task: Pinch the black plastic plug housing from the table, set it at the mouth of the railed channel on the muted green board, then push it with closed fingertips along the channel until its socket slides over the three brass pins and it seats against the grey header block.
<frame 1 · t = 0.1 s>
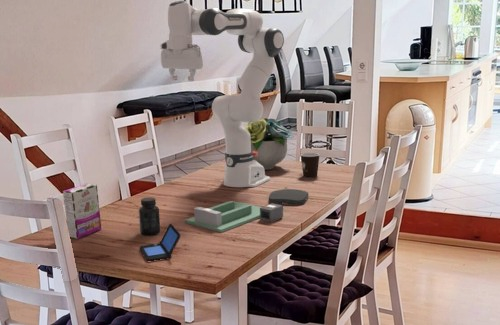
hand: (182, 80, 232), 48 cm above the table, tool pointing down, fingers open, 8 cm apart
candy bar box: (84, 234, 204), on the table
handheld game console: (160, 254, 185), on the table
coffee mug: (309, 175, 277), on the table
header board: (230, 217, 218), on the table
media streaming box: (288, 200, 238), on the table
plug: (271, 218, 215), on the table
flower arrangement: (265, 168, 293), on the table
supplement bottle: (150, 233, 203), on the table
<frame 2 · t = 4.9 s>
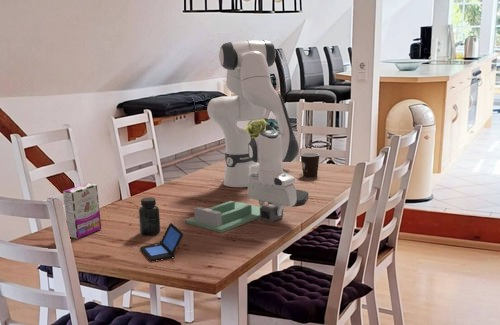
hand: (271, 213, 215), 2 cm above the table, tool pointing down, fingers closed on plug, 5 cm apart
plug: (271, 218, 215), on the table, touching gripper
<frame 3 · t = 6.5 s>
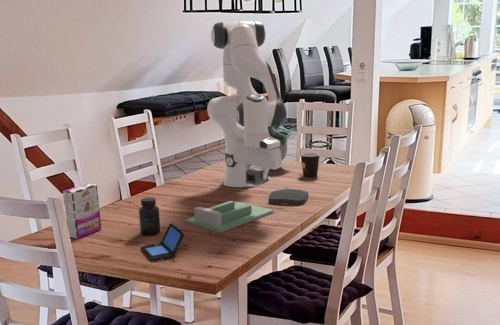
hand: (257, 177, 218), 14 cm above the table, tool pointing down, fingers closed on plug, 5 cm apart
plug: (257, 181, 218), point 12 cm above the table, touching gripper
everything else where it was.
when the fingers open (3 cm above the table, at t = 8.6 s): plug stays where it is, resting on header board.
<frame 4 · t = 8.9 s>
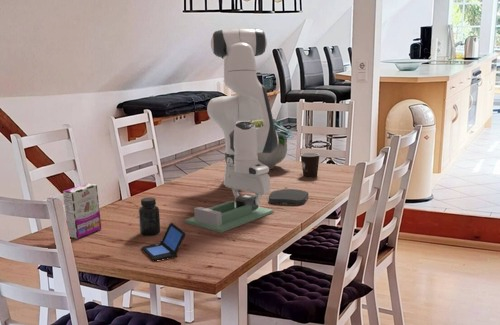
hand: (247, 202, 224), 3 cm above the table, tool pointing down, fingers open, 8 cm apart
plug: (247, 208, 224), point 1 cm above the table, touching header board
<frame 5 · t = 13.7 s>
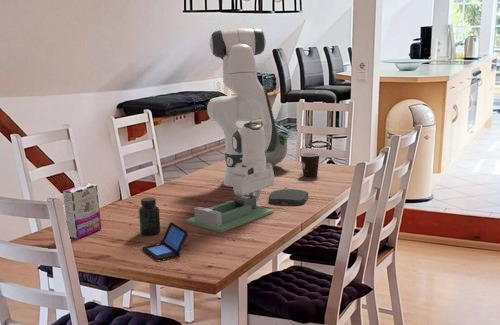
hand: (255, 201, 227), 3 cm above the table, tool pointing down, fingers closed
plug: (245, 209, 223), point 1 cm above the table, touching gripper, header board
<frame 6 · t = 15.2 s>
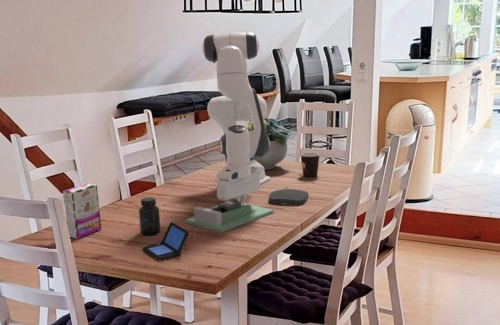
hand: (240, 206, 221), 3 cm above the table, tool pointing down, fingers closed
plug: (229, 215, 217), point 1 cm above the table, touching gripper, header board
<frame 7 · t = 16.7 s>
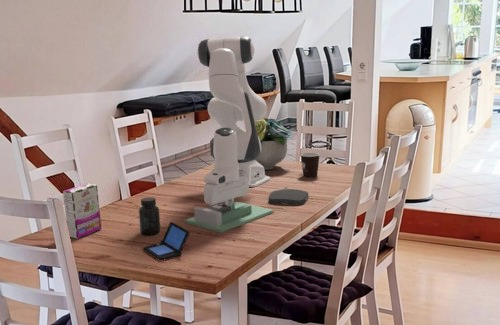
hand: (228, 211, 216), 3 cm above the table, tool pointing down, fingers closed
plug: (217, 219, 213), point 1 cm above the table, touching gripper, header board
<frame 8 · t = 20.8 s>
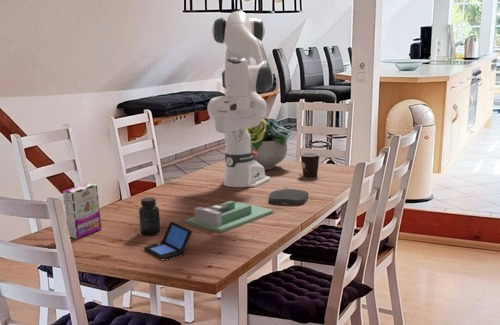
hand: (238, 141, 216), 27 cm above the table, tool pointing down, fingers closed
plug: (217, 219, 213), point 1 cm above the table, touching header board
at the end: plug 0.2 cm from the target spot on the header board, point 1.0 cm above the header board's base; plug tilted 0° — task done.
